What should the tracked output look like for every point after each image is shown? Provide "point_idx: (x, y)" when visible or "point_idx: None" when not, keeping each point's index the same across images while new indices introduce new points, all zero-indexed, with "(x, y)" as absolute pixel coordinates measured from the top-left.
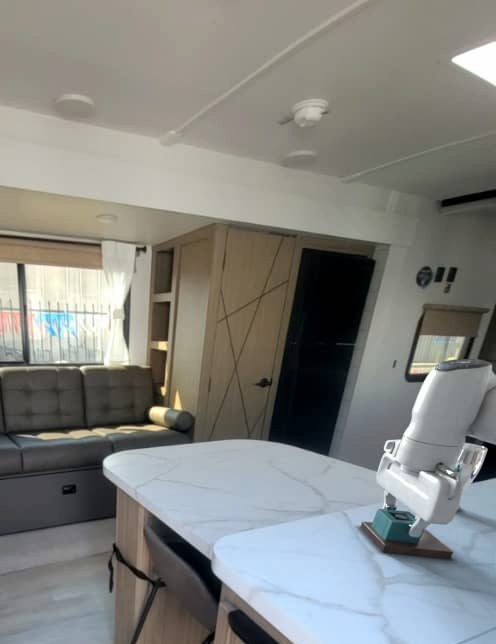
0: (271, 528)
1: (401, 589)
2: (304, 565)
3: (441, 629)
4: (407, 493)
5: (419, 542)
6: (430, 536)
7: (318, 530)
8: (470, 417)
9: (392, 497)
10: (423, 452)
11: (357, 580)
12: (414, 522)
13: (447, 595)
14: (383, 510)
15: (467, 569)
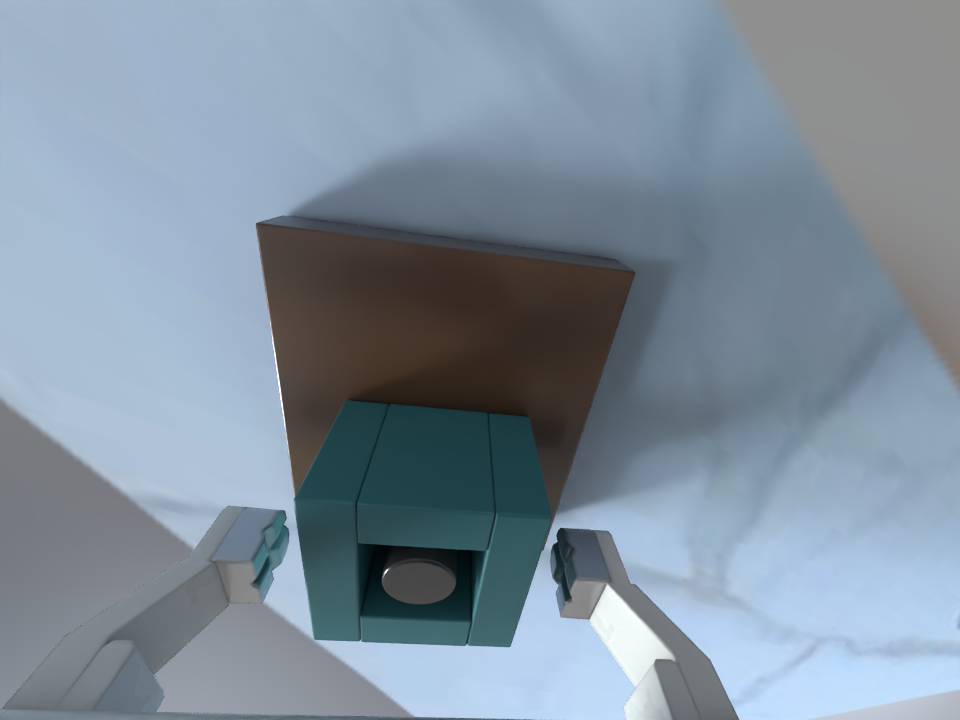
0: (401, 702)
1: (757, 568)
2: (600, 690)
3: (927, 568)
4: None
5: (514, 401)
6: (422, 277)
7: None
8: None
9: (140, 638)
10: None
11: (686, 632)
12: (622, 668)
13: (839, 472)
14: (336, 627)
15: (729, 240)
